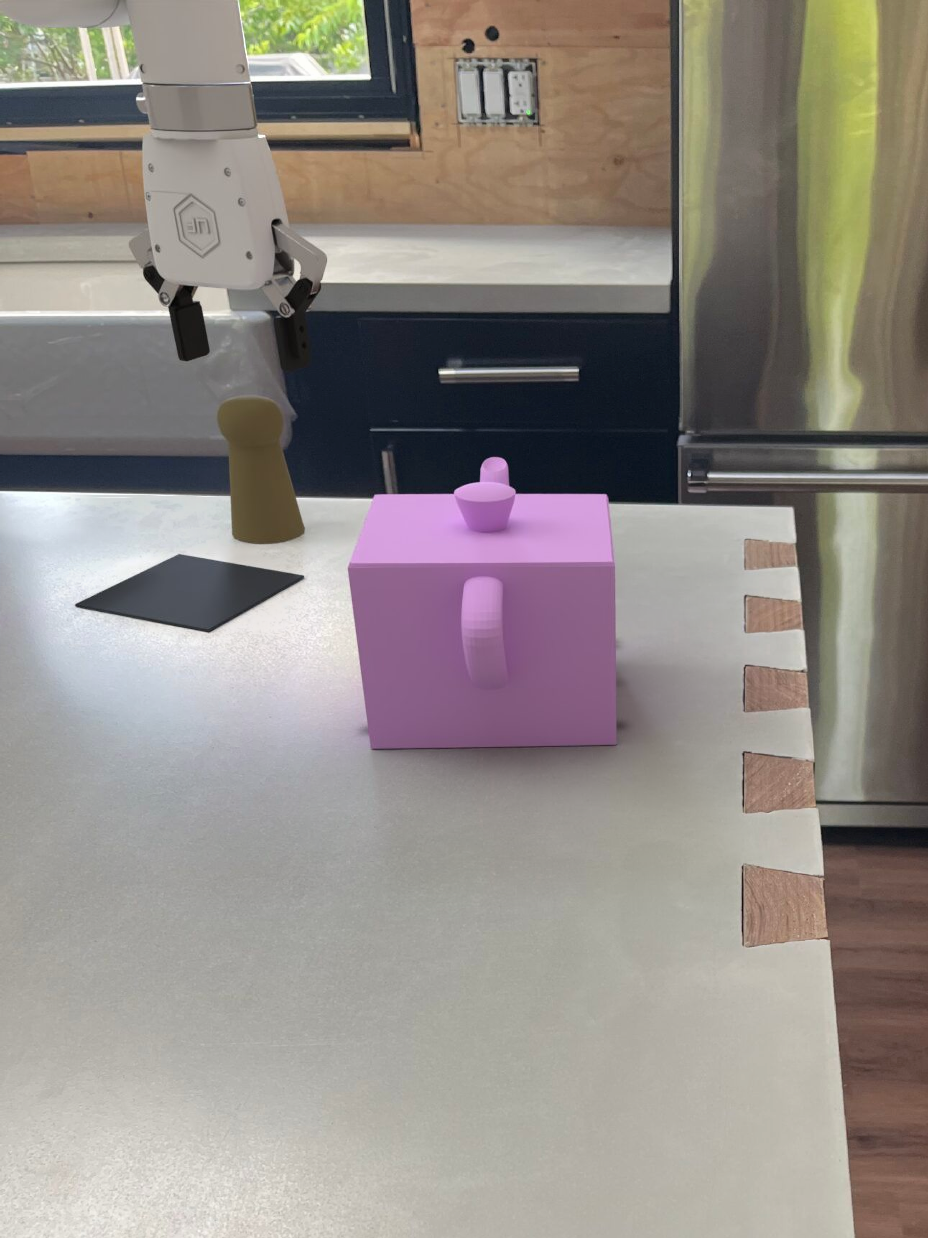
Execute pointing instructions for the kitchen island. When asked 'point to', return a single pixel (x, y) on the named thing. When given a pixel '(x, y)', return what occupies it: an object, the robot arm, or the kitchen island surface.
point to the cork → (258, 471)
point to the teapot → (486, 617)
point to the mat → (191, 592)
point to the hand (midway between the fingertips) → (245, 363)
